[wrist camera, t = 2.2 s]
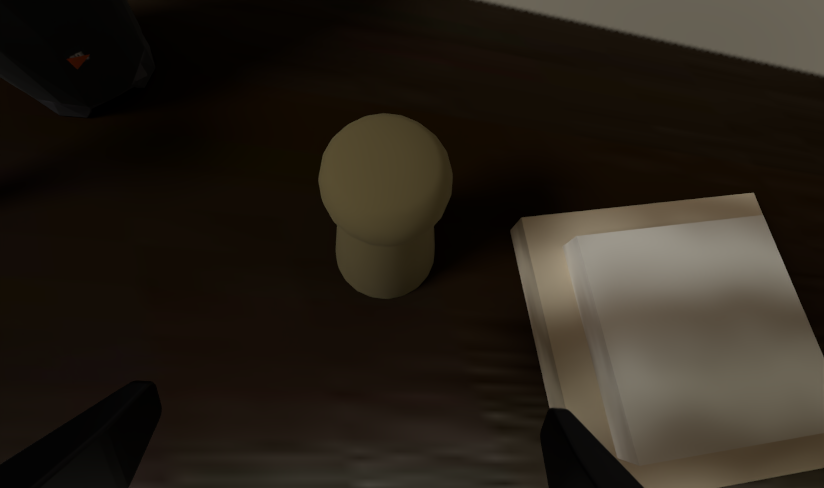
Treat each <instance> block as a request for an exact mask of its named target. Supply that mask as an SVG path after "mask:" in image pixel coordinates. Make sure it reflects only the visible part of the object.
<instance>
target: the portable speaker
mask: <svg viewBox="0 0 824 488" xmlns="http://www.w3.org/2000/svg"><path fill="white" fill-rule="evenodd" d="M154 70H155V64H154V61H153V57H152V53H151V49H150V46H149V44H148V42H147V41H146V39H145V37H144V36H143V34H142V31H141V27H140V25H139V23H138V21H137V19H136V18H135V16H134V14H133V12H132V10H131V8H130V6H129V4H128V2H127V0H0V77H1V78H3V79H4V80H6V81H8V82H9V83H11V84H12V85H14V86H15V87H17V88H19V89H20V90H22V91H24V92H25V93H27V94H29V95H30V96H32V97H33V98H35V99H36V100H38V101H39V102H41V103H42V104H44V105H45V106H47V107H48V108H50V109H51V110H53V111H54V112H56V113H57V114H59V115H61V116H73V117H86V118H87V117H88V116H89V115H90V114H91V113H92V108H95V107H97V106H99V105H101V104H103V103H105V102H107V101H110V100H112V99H113V98H115V97H117V96H119V95H121V94H122V93H124V92H126V91H128V90H130V89H131V88H133V87H136V88H145V86H146V85H147V83H148V81H149V79H150V77H151V75H152V73H153V72H154Z"/></svg>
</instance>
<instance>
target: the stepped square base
mask: <svg viewBox="0 0 824 488" xmlns="http://www.w3.org/2000/svg"><path fill="white" fill-rule="evenodd" d="M510 232H511V237H512V241H513V246H514V250H515V255H516V259H517V264H518V268H519V273H520V277H521V282H522V286H523V291H524V295H525V300H526V304H527V309H528V313H529V318H530V322H531V327H532V331H533V336H534V340H535V345H536V349H537V354H538V358H539V363H540V367H541V372H542V376H543V381H544V385H545V390H546V394H547V399H548V403H549V408H566V409H568V410H569V411H571V412H572V413H573V414H574V415H575V417H576V418H577V419H578V420H579V421H580V422H581V423H582V424H583V425H584V426H585V427H586V428H587V429H588V430H589V431H590V432H591V433H592V434H593V435H594V436H595V437H596V438H597V439H598V440H599V441H600V442H601V443H602V444H603V445H604V446H605V448H606V449H607V450H608V451H609V452H610V453H611V454H612V455H613V456H614V457H615V458H616V459H617V460H618V461H619V462H620V463H621V464H622V465H623V466H624V467H625V468H626V469H627V470H628V471H629V472H630V473H631V474H632V475H633V476H634V477H635V479H636V480H637V481H638V482H639V483H640V484H641V485H642V486H643V487H644V488H719V487H725V486H730V485H735V484H741V483H746V482H751V481H757V480H762V479H767V478H772V477H778V476H783V475H788V474H794V473H799V472H804V471H810V470H815V469H820V468H824V357H823V354H822V352H821V350H820V347H819V345H818V343H817V340H816V338H815V336H814V333H813V331H812V329H811V326H810V324H809V322H808V319H807V317H806V315H805V312H804V310H803V308H802V305H801V303H800V300H799V298H798V296H797V293H796V291H795V289H794V286H793V284H792V282H791V279H790V277H789V275H788V272H787V270H786V268H785V265H784V263H783V261H782V258H781V256H780V254H779V251H778V249H777V247H776V244H775V242H774V239H773V237H772V235H771V232H770V230H769V228H768V225H767V223H766V221H765V218H764V216H763V214H762V211H761V209H760V207H759V204H758V202H757V200H756V197H755V195H754V193H747V194H738V195H728V196H719V197H710V198H700V199H691V200H681V201H672V202H663V203H653V204H644V205H634V206H625V207H616V208H606V209H597V210H587V211H578V212H569V213H559V214H550V215H540V216H531V217H522V218H520V220H519V221H518V222H517V223H516V224H515V225H514V227H513V228H512V229H511V230H510Z"/></svg>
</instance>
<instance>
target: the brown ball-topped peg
mask: <svg viewBox="0 0 824 488" xmlns="http://www.w3.org/2000/svg"><path fill="white" fill-rule="evenodd" d="M452 177H453V175H452V169H451V166H450V162H449V158H448V155H447V151H446V150H445V149H444V147H443V146H442V144H441V143H440V141H439V140H438V138H437V137H436V136H435V135H434V134H433V133H431V132H430V131H429V130H428V129H426V128H425V127H424V126H423V125H421V124H420V123H419V122H417V121H414V120H412V119H409V118H407V117H404V116H402V115H394V114H385V113H383V114H376V115H370V116H365V117H363V118H361V119H359V120H356V121H354V122H352V123H350V124H348V125H347V126H346V127H345V128H343V129H342V130H341V131H340V132H339V133H338V134H337V135H335V136H334V137H333V138H332V140H331V142H330V143H329V145H328V147H327V148H326V150H325V152H324V154H323V157H322V163H321V168H320V173H319V179H318V180H319V186H320V192H321V198H322V201H323V203H324V205H325V207H326V209H327V211H328V212H329V214H330V216H331V218H332V219H333V221H334V222H335V223H336V224H337V236H336V257H337V263H338V267H339V269H340V271H341V273H342V275H343V276H344V278H345V280H346V281H347V282H348V283H349V284H350V285H351V286H353V287H354V288H355V289H356V290H357V291H359V292H361V293H363V294H366V295H368V296H370V297H374V298H383V299H390V298H395V297H400V296H404V295H406V294H407V293H409V292H411V291H413V290H414V289H416V288H418V286H419V285H420V284H421V283H422V282H423V281H424V280H425V279H426V278H427V276H428V274H429V272H430V270H431V267H432V265H433V263H434V251H435V242H434V225H435V224H436V223H437V222H438V221H439V220H440V219H441V217H442V215H443V213H444V210H445V208H446V206H447V204H448V201H449V199H450V197H451V192H452Z"/></svg>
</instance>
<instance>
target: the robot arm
mask: <svg viewBox="0 0 824 488" xmlns="http://www.w3.org/2000/svg"><path fill="white" fill-rule="evenodd" d="M161 411H162V407H161V403H160V399H159V395H158V391H157V388H156V385H155V384H154V383H153V382H151V381H133V382H131V383H129V384H127V385H126V386H124V387H122V388H121V389H119V390H118V391H116V392H114V393H113V394H111V395H110V396H108V397H106V398H105V399H103V400H102V401H100V402H98V403H97V404H95V405H94V406H92V407H91V408H89V409H87V410H86V411H84V412H83V413H81V414H79V415H78V416H76V417H75V418H73V419H71V420H70V421H68V422H67V423H65V424H63V425H62V426H60V427H59V428H57V429H55V430H54V431H52V432H51V433H49V434H47V435H46V436H44V437H43V438H41V439H40V440H38V441H36V442H35V443H33V444H32V445H30V446H28V447H27V448H25V449H24V450H22V451H20V452H19V453H17V454H16V455H14V456H12V457H11V458H9V459H8V460H6V461H4V462H3V463H1V464H0V488H129V486H130V483H131V481H132V479H133V477H134V475H135V473H136V471H137V468H138V466H139V464H140V462H141V459H142V457H143V455H144V453H145V450H146V448H147V446H148V444H149V441H150V439H151V437H152V435H153V432H154V430H155V428H156V426H157V423H158V421H159V419H160V416H161ZM540 439H541V446H542V452H543V457H544V463H545V469H546V474H547V480H548V486H549V488H644V487H643V486H642V485H641V484H640V483H639V482H638V481H637V480H636V479H635V477H634V476H633V475H632V474H631V473H630V472H629V471H628V470H627V469H626V468H625V467H624V466H623V465H622V464H621V463H620V462H619V461H618V460H617V459H616V458H615V457H614V456H613V455H612V454H611V453H610V452H609V451H608V450H607V449H606V448H605V446H604V445H603V444H602V443H601V442H600V441H599V440H598V439H597V438H596V437H595V436H594V435H593V434H592V433H591V432H590V431H589V430H588V429H587V428H586V427H585V426H584V425H583V424H582V423H581V422H580V421H579V420H578V419H577V418H576V417H575V415H574V414H573V413H572V412H571V411H569V410H568V409H566V408H550V409H549V410H548V412H547V415H546V418H545V420H544V423H543V426H542V429H541V434H540Z"/></svg>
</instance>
